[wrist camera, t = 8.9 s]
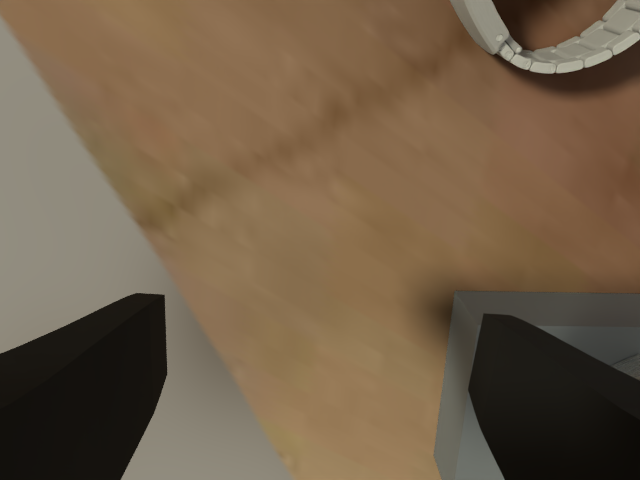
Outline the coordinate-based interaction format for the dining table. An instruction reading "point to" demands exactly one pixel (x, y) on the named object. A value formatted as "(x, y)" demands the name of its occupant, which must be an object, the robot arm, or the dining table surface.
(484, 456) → the watch box
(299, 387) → the dining table surface
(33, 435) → the robot arm
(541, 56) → the watch
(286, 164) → the dining table surface
